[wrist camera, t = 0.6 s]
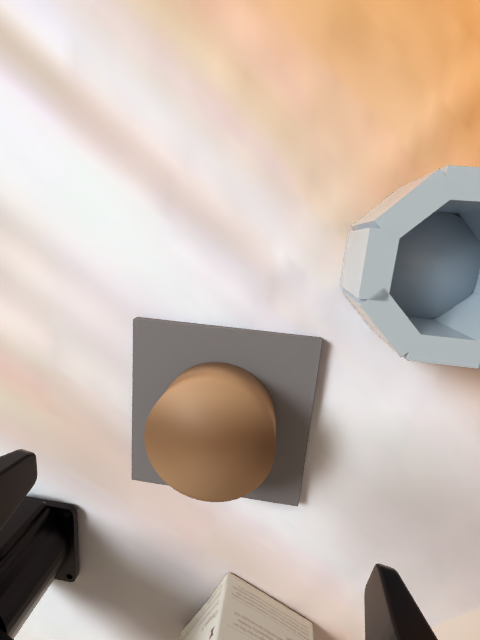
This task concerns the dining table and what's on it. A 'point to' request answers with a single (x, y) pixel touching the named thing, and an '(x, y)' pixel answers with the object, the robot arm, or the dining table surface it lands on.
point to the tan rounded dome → (213, 433)
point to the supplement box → (245, 616)
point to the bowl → (421, 268)
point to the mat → (248, 353)
